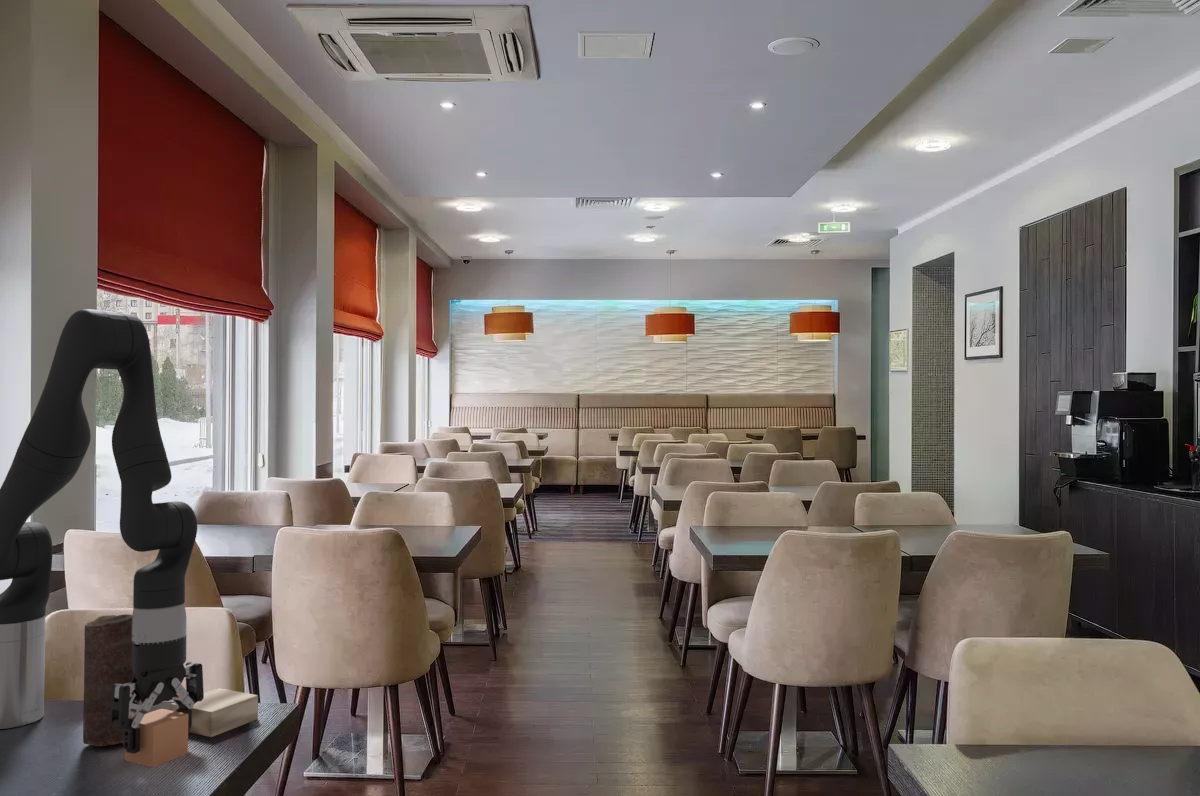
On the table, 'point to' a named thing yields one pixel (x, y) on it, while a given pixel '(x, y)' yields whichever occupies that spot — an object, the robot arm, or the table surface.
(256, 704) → the oak plinth
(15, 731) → the table surface
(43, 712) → the robot arm
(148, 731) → the terracotta cube
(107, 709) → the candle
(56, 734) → the table surface
